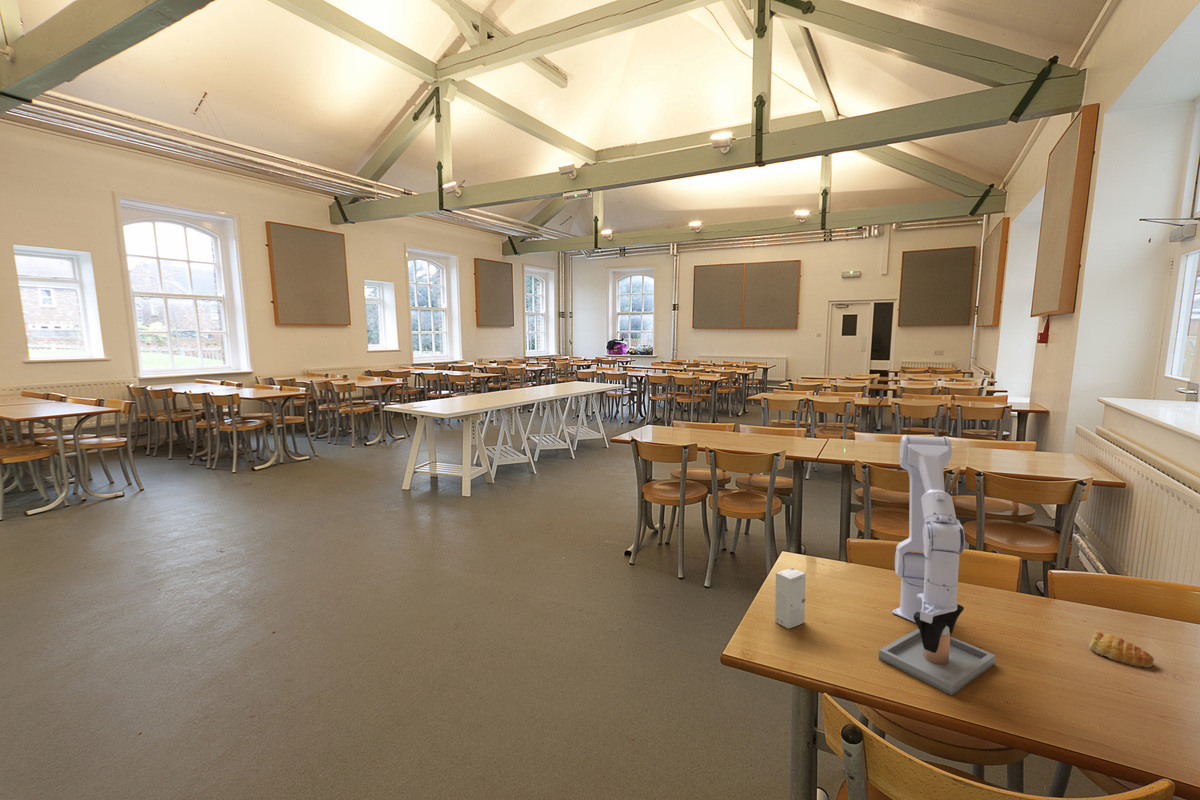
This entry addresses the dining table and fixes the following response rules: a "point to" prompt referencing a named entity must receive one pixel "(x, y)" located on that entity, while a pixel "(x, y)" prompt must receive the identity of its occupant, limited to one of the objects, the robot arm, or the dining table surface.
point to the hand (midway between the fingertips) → (937, 643)
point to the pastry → (1120, 650)
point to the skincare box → (790, 598)
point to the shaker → (940, 650)
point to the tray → (949, 677)
